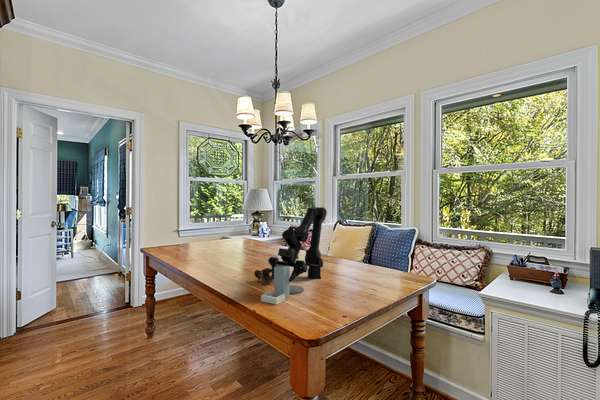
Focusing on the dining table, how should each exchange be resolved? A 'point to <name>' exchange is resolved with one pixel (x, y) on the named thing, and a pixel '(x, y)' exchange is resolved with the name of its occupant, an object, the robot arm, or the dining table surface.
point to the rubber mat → (296, 289)
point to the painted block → (281, 280)
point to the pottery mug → (264, 275)
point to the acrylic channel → (272, 298)
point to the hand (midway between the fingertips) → (280, 280)
